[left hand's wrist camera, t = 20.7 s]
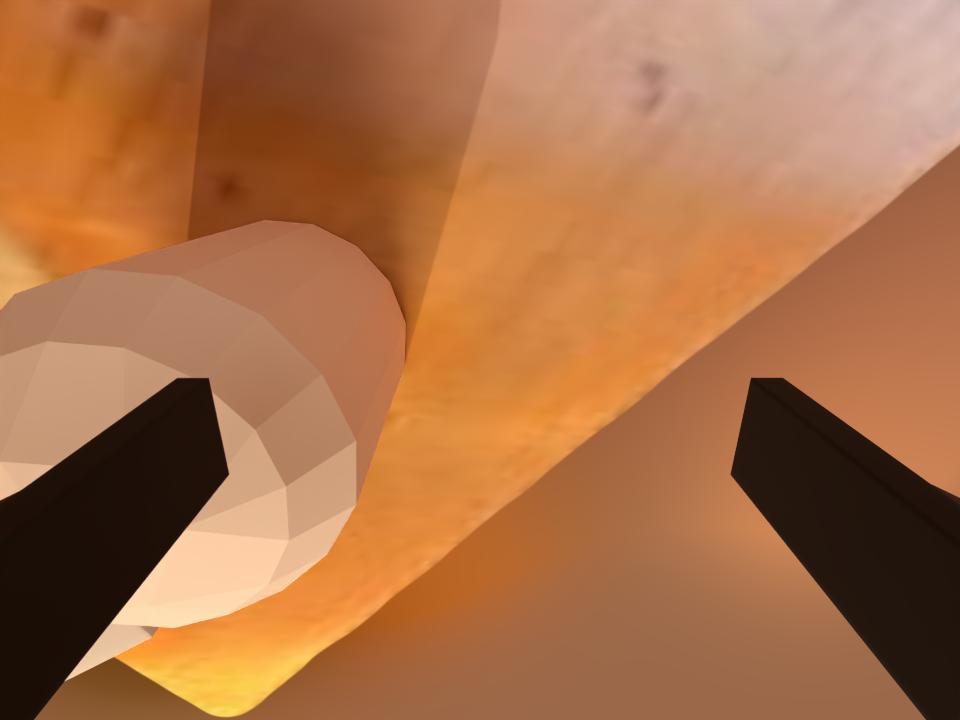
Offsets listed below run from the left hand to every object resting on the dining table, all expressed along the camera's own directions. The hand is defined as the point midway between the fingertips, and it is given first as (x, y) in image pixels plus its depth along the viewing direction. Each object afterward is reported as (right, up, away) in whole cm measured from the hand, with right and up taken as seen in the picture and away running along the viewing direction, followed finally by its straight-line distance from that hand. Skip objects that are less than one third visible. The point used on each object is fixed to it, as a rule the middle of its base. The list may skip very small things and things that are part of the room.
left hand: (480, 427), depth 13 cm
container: (-17, +4, +35) cm, 39 cm away
